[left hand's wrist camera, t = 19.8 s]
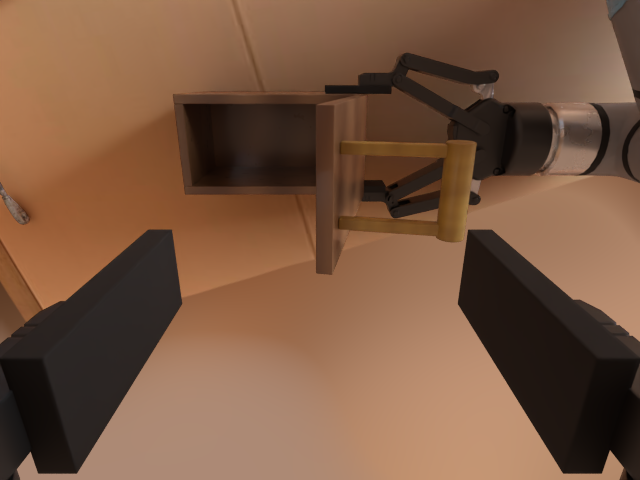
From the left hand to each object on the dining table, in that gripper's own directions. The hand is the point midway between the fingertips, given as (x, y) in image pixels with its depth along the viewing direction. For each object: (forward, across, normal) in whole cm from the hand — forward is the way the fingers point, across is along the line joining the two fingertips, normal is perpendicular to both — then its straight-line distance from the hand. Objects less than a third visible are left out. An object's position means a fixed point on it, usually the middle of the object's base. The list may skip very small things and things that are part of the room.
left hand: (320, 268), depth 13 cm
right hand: (+32, 0, 0) cm, 32 cm away
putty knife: (+38, +39, +8) cm, 55 cm away
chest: (+38, +5, 0) cm, 38 cm away
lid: (+18, -2, 0) cm, 18 cm away
